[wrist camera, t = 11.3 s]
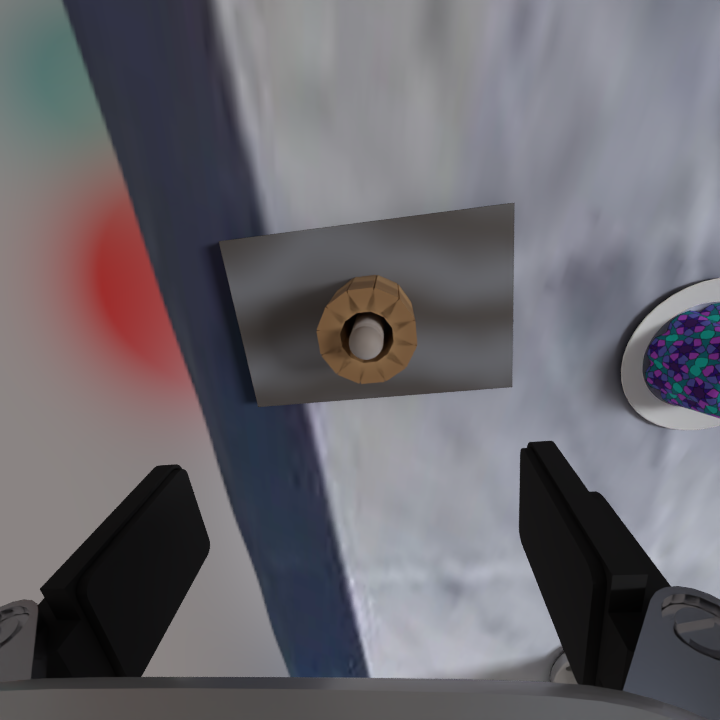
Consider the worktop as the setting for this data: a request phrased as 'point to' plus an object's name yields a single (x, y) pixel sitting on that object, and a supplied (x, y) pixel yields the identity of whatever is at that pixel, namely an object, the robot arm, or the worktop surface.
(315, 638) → the worktop surface
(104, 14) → the worktop surface
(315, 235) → the needle stand
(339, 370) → the bead
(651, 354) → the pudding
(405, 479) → the worktop surface
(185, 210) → the worktop surface
